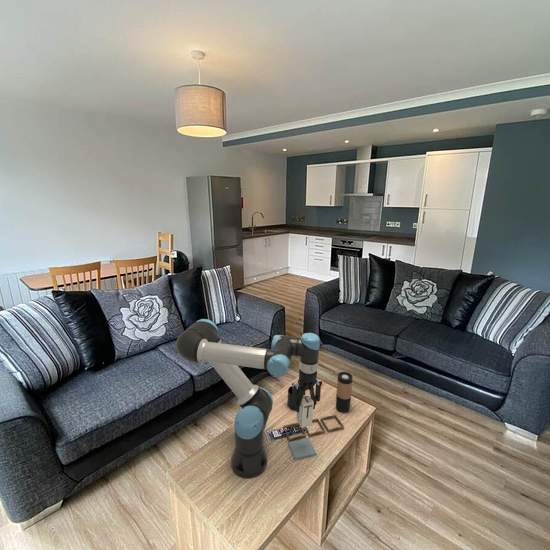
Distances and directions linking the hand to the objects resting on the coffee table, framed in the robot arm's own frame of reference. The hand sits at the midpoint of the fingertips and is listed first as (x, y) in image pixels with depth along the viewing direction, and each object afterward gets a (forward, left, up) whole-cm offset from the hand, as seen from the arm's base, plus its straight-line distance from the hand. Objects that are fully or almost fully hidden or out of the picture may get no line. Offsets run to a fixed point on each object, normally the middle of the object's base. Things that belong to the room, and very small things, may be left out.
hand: (304, 416), depth 127 cm
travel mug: (+30, +18, -16) cm, 39 cm away
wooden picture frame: (-1, +9, -16) cm, 19 cm away
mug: (+8, +28, -17) cm, 33 cm away
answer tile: (-1, -1, -16) cm, 16 cm away
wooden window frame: (+9, +9, -16) cm, 21 cm away
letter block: (0, 0, -3) cm, 3 cm away
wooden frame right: (+19, +9, -16) cm, 26 cm away
